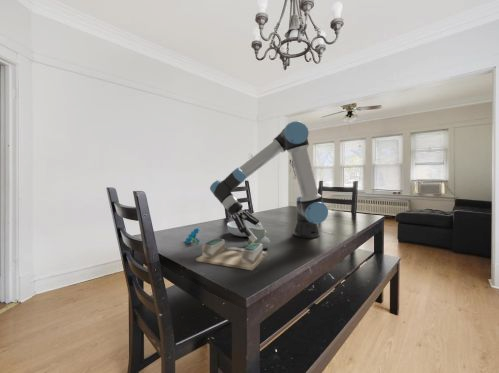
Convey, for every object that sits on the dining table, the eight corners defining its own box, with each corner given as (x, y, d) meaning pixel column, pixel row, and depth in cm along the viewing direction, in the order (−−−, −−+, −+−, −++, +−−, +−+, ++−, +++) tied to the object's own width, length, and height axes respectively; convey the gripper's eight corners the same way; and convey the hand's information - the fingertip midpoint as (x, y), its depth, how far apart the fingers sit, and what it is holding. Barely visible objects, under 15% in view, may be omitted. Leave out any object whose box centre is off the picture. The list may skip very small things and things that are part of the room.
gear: (184, 237, 130) (197, 224, 130) (192, 243, 132) (204, 231, 132) (183, 245, 120) (197, 232, 120) (192, 252, 121) (205, 239, 122)
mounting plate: (267, 254, 106) (267, 241, 105) (252, 270, 89) (252, 254, 89) (217, 248, 116) (217, 235, 115) (196, 260, 99) (195, 246, 99)
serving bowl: (221, 238, 134) (221, 226, 133) (234, 229, 154) (234, 219, 153) (256, 240, 128) (256, 228, 127) (265, 231, 148) (264, 220, 147)
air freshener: (245, 247, 117) (245, 227, 116) (256, 243, 122) (256, 225, 122) (261, 252, 109) (261, 231, 108) (272, 248, 115) (272, 228, 114)
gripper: (238, 207, 133) (263, 235, 128) (215, 214, 110) (245, 249, 105) (247, 198, 130) (272, 226, 125) (225, 203, 107) (255, 239, 102)
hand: (260, 237), depth 115 cm, fingers open, 13 cm apart
